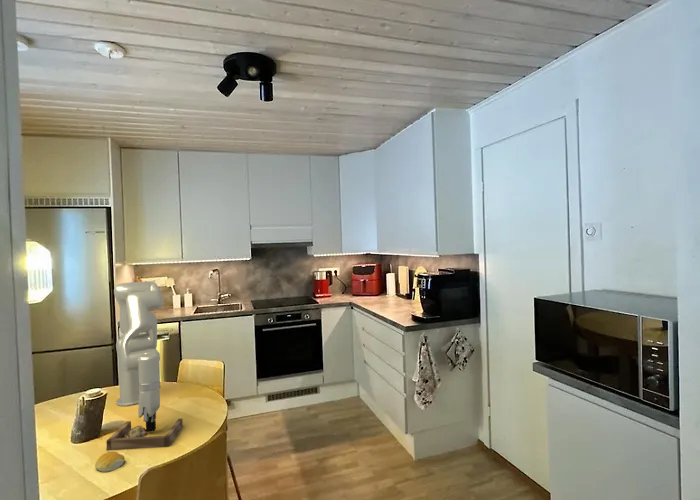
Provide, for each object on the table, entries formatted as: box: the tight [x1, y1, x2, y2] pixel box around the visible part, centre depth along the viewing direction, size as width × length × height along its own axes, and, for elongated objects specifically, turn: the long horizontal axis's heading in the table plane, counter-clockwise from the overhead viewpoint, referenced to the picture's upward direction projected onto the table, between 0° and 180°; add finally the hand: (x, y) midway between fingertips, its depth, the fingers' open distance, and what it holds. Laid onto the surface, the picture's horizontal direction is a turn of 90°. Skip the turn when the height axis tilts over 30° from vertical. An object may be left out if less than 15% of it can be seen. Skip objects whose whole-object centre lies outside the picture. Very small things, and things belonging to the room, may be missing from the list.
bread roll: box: [94, 451, 126, 473], centre depth 137 cm, size 8×9×4 cm
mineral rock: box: [124, 425, 148, 438], centre depth 157 cm, size 11×4×8 cm
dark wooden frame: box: [105, 417, 184, 451], centre depth 156 cm, size 16×22×4 cm
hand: (151, 430), depth 160 cm, fingers closed
